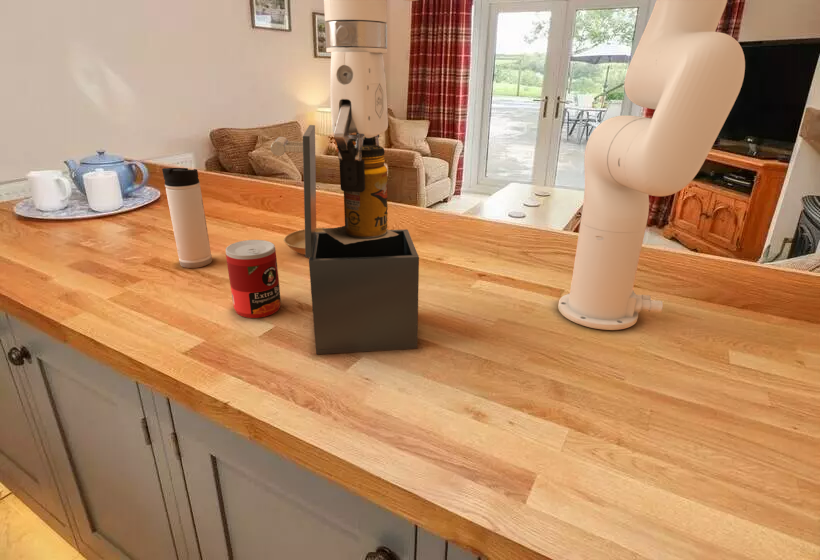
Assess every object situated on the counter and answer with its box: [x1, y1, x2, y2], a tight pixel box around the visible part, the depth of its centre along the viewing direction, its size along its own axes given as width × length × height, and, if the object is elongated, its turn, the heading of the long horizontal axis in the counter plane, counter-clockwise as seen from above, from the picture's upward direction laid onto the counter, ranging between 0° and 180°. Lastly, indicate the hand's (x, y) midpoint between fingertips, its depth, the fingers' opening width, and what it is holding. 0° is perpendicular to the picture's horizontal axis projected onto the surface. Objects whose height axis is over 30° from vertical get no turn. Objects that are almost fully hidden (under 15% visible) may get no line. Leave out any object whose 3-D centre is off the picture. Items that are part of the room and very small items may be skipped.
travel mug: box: [161, 167, 213, 269], centre depth 98 cm, size 6×7×20 cm
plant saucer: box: [283, 227, 328, 256], centre depth 111 cm, size 15×15×3 cm
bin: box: [308, 229, 420, 355], centre depth 74 cm, size 15×13×14 cm
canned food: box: [225, 239, 282, 319], centre depth 81 cm, size 8×8×11 cm
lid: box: [270, 124, 317, 258], centre depth 67 cm, size 15×13×5 cm
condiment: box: [322, 144, 399, 244], centre depth 67 cm, size 7×8×12 cm
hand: (361, 184), depth 67 cm, fingers closed on condiment, 6 cm apart
